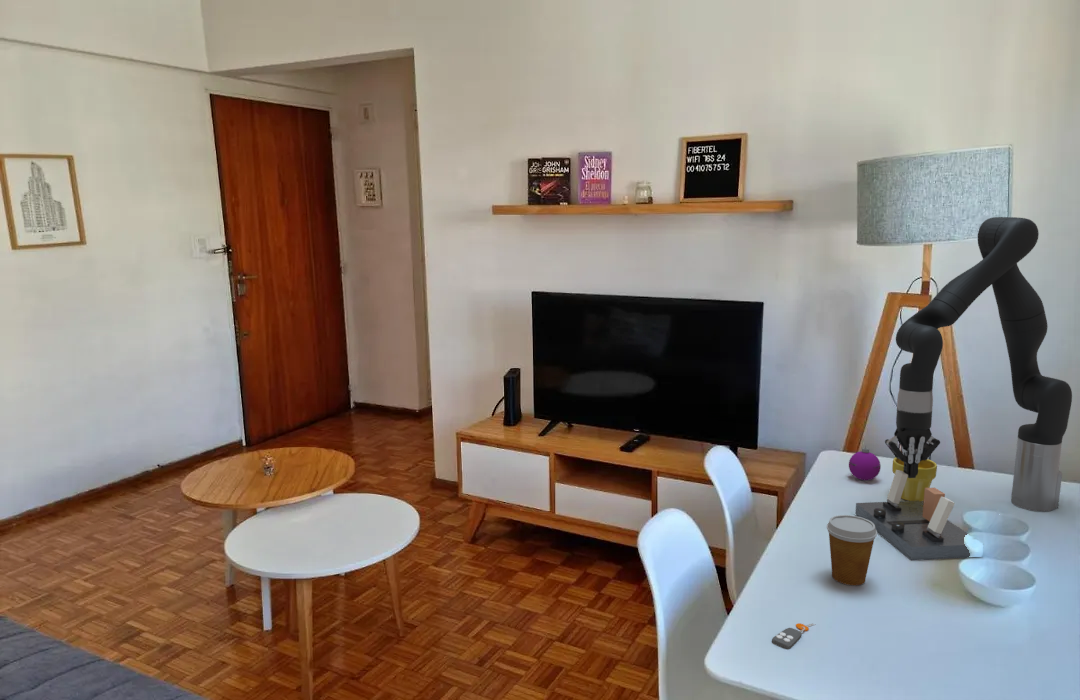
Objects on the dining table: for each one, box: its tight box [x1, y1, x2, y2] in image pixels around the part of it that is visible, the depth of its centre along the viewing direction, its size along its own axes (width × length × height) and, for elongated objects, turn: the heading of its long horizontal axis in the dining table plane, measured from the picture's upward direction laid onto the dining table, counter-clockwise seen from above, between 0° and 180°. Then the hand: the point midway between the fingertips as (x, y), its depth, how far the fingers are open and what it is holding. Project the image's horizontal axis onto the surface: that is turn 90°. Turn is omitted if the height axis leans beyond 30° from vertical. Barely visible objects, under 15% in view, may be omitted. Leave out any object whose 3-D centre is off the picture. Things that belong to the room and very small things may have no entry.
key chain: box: [771, 623, 816, 650], centre depth 133 cm, size 13×4×2 cm, turn 134°
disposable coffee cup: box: [826, 514, 878, 586], centre depth 151 cm, size 10×10×12 cm
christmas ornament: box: [848, 445, 882, 481], centre depth 207 cm, size 8×8×10 cm
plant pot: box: [891, 456, 938, 503], centre depth 193 cm, size 10×10×10 cm
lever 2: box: [927, 496, 955, 538], centre depth 162 cm, size 2×4×8 cm, turn 4°
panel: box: [854, 500, 970, 561], centre depth 172 cm, size 16×25×4 cm, turn 3°
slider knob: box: [922, 487, 946, 522], centre depth 171 cm, size 2×4×7 cm, turn 4°
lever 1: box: [886, 470, 908, 508], centre depth 179 cm, size 2×4×8 cm, turn 4°
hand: (910, 476), depth 178 cm, fingers closed
